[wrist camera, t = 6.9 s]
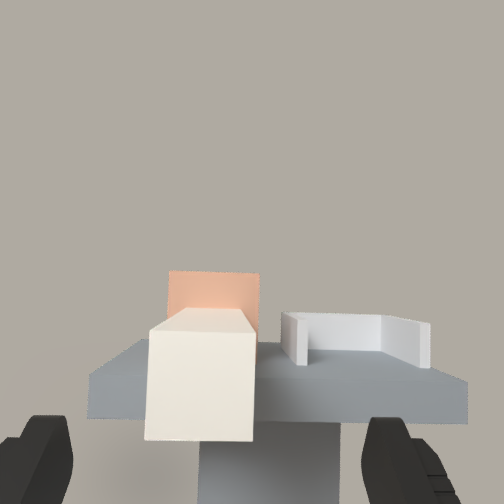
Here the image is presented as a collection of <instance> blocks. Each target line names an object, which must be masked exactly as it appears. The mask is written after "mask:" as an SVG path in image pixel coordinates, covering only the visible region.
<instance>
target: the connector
mask: <svg viewBox="0 0 504 504" xmlns="http://www.w3.org/2000/svg"><path fill="white" fill-rule="evenodd" d="M259 279H260V274H254V273H226V272H197V271H196V272H195V271H170V272H169V294H168V314H167V320H166V321H164V322H162V323H161V324H159V325H158V326H156V327H154V328H153V329H151V330H150V334H149V354H148V375H147V395H146V416H145V436H144V440H162V441H163V440H164V441H166V440H167V441H249V442H253V417H254V385H255V364H257V345H258V313H259V281H260V280H259Z"/></svg>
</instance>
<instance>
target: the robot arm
mask: <svg viewBox="0 0 504 504" xmlns="http://www.w3.org/2000/svg"><path fill="white" fill-rule="evenodd" d="M72 468H73V452H72V448H71V442H70V437H69V432H68V426H67V421H66V418H65V416H60V415H59V416H58V415H34V416H32V417H31V418H30V419H29V421H28V422H27V424H26V426H25V428H24V430H23V432H22V434H21V436H20V438H13V437H12V438H11V437H10V438H9V437H7V438H6V439H5V440H4V441H3V442H2V443H1V444H0V504H61V503H62V501H63V498H64V496H65V493H66V490H67V487H68V485H69V482H70V479H71V475H72ZM361 468H362V476H363V481H364V484H365V487H366V491H367V494H368V498H369V502H370V504H461V503H460V500H459V498H458V497H457V496H456V495H455V490H454V488H453V486H452V484H451V482H450V480H449V479H448V478H447V473H446V471H445V469H444V467H443V465H442V463H441V461H440V459H439V457H438V455H437V454H436V453H435V452H434V451H433V450H432V449H431V447H430V446H429V445H428V444H427V443H426V442H425V441H424V440H423V439H416V438H411V437H410V435H409V433H408V430H407V428H406V426H405V423H404V421H403V420H402V419H401V418H400V417H372V418H371V419H370V422H369V426H368V430H367V434H366V439H365V443H364V447H363V452H362V459H361Z"/></svg>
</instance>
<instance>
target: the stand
mask: <svg viewBox="0 0 504 504" xmlns="http://www.w3.org/2000/svg"><path fill="white" fill-rule="evenodd" d="M148 354H149V339H141V340H140V341H138V342H137V343H135V344H134V345H133V346H131V347H130V348H128V349H127V350H125V351H124V352H122V353H121V354H119V355H118V356H116V357H115V358H113V359H112V360H110V361H109V362H107V363H106V364H104V365H103V366H101V367H100V368H98V369H97V370H95V371H94V372H93V373H91V374H90V376H89V394H88V410H87V419H129V420H145V416H146V395H147V375H148ZM467 387H468V383H467V382H466V381H464V380H461V379H459V378H456V377H454V376H451V375H449V374H446V373H444V372H441V371H439V370H436V369H434V368H431V367H430V323H425V322H420V321H414V320H409V319H403V318H398V317H393V316H389V315H371V314H336V313H335V314H334V313H300V312H282V313H281V343H271V342H270V343H269V342H258V345H257V364H255V385H254V417H253V442H249V441H200V449H199V450H200V451H199V474H198V499H197V504H339V480H340V425H341V424H340V423H341V422H342V423H345V422H346V423H369V422H370V419H371V418H372V417H400V418H401V419H402V420H403V421H404V423H410V424H412V423H414V424H415V423H416V424H468V411H467V410H468V408H467V407H468V401H467V400H468V399H467V397H468V395H467V394H468V388H467Z"/></svg>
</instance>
